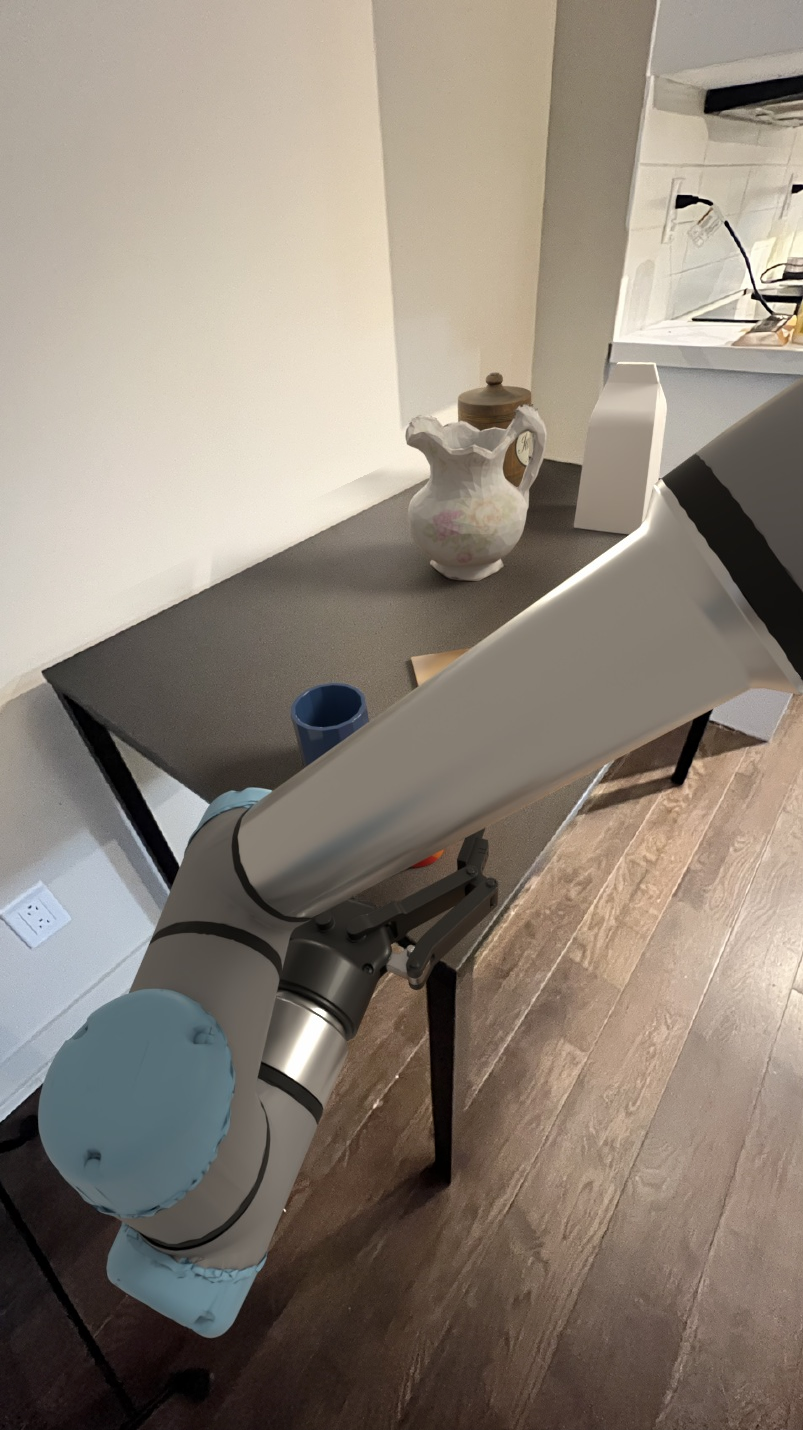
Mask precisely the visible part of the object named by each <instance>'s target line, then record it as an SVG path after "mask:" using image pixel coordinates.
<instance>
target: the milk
mask: <svg viewBox="0 0 803 1430" xmlns="http://www.w3.org/2000/svg"><path fill="white" fill-rule="evenodd" d="M667 412H668V404H667V398H666V396H665V393H664V390H663V386H662V383H661V382H660V377H659V371H658V368H657V363H656V362H650V361H648V362H645V361H643V362H640V361H618V362H616V364H615V365H614V367H613V369H612V370H611V373H610V375H609V377H608V378H607V380H606V383H605V385H604V387H603V389H602V391H601V392H600V395H599V397H598V399H597V402H596V404H595V405H594V408H593V409H592V412H591V415H590V417H589V421H588V425H587V432H586V438H585V445H584V452H583V459H582V465H581V473H580V478H579V485H578V486H579V487H578V493H577V501H576V507H575V508H576V509H575V514H574V521H573V528H574V529H583V530H590V531H597V532H606V533H614V534H623V535H630V534H631V533H633V532H634V531H635V530H637V529H638V528H640V526H641V525H642V523H643V521H644V520H645V517H646V513H647V509H648V505H649V501H650V497H651V493H652V489H653V485H654V483H656V482H657V481H658V480H660V471H661V470H660V469H661V461H662V453H663V445H664V436H665V429H666V420H667Z"/></svg>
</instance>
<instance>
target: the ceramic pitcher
mask: <svg viewBox="0 0 803 1430" xmlns="http://www.w3.org/2000/svg"><path fill="white" fill-rule="evenodd" d="M538 410H539V408H536V407H534V403H531V407H530V405H529V404H528V405H522V407H520V406H518V408H516V409H514V411H516V412H515V417H514V419H513V420H512V422H511V424H510V425H509V426H508V428H507V429H501V428H496V427H494V428H490V429H485V430H482V431H480V430H478V429H477V428H475V427H473V426H472V425H470V424H468V423H467V422H464V421H459V422H458V421H457V422H456V421H455V422H453V421H452V422H449V423H446V424H444V425H443V424H442V423H441V422H440V421H439V420H438V418H437V417H434V416H432V415H429V416H425V415H423V414H418V415H416V416H415V417H412V418H411V419H410V420H408V424H409V425H408V426H407V428H405V435H404V436H405V441H406V445H407V446H409V447H411V448H414V449H417V450H418V451H419V452H421V453H422V454H423V455H424V457H425V459H426V461H427V463H428V464H429V473H430V474H429V479H428V481H427V482H426V484H425V485H424V486H422V487H421V488H420V489H419V490H418V491H417V492H416V493H415V494H414V495H413V496H412V498H411V499H410V500H409V504H408V508H407V523H408V529H409V533H410V535H411V537H412V540H413V542H414V543H415V546H417V547H418V549H419V550H420V551H421V552H422V554H423V555H425V556H426V557H427V558H429V559H431V560H430V561H429V564H430V566H432V567H433V568H434V569H435V570H436V571H437V572H439V573H440V574H441V575H443V576H444V577H445V578H447V579H450V580H456V581H472V582H480V581H481V580H483V579H485V578H487V577H489V576H491V575H493V574H496V573H498V572H499V571H500V570H501V569H502V568H503V567H504V563H503V560H502V558H504V557H506V556H507V555H508V554H509V553H510V552H511V551H512V550H513V549H514V548H515V547H516V545H517V543H518V542H519V541H520V539H521V537H522V534H523V532H524V529H525V525H526V520H527V514H528V509H529V506H530V505H529V504H530V489H531V487H532V485H533V484H534V482H535V480H536V478H537V477H538V475H539V472H540V468H541V467H542V464H543V462H544V458H545V456H546V455H545V454H546V447H547V428H546V423H545V422H544V421H543V420H542V419H541V416H540V415H539V411H538ZM528 431H529V432H530V433H529V434H530V435H531V437H532V438H531V439H532V441H531V443H532V452H531V455H530V458H529V462H528V464H527V467H526V469H525V472H524V475H523V479H522V481H521V484H520V486H519V487H516V486H514V485H513V484H511V483H510V482H509V481H508V480H506V479H505V477H504V474H503V462H504V458H505V454H506V451H507V449H508V447H509V445H510V444H511V443H512V442H513V441H514V440H515V439H516V438H517V437H518V436H520V435H521V434H523V433H525V432H528Z"/></svg>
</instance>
